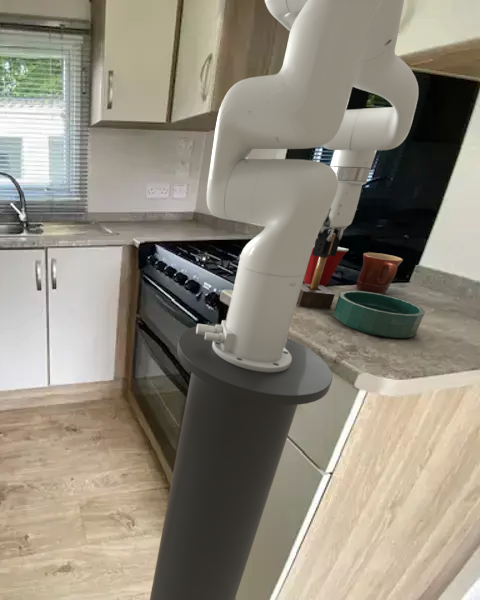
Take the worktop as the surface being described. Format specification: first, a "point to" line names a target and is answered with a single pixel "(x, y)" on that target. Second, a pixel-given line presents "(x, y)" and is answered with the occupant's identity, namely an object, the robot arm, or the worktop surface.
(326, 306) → the holder
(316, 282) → the stick
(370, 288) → the mug
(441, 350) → the worktop surface
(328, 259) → the plastic cup
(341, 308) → the bowl
